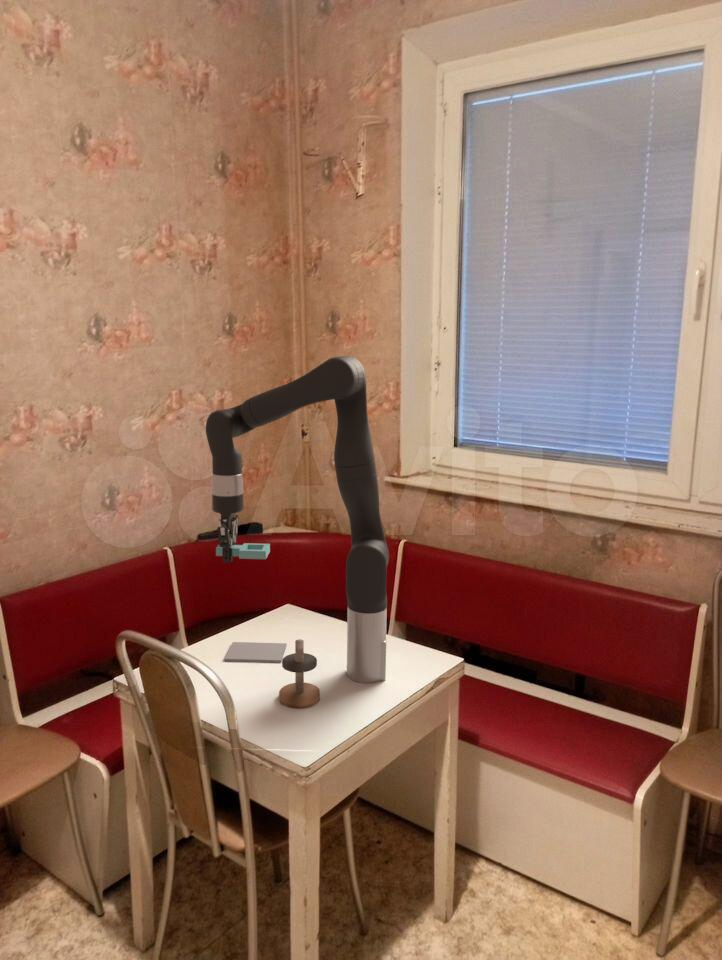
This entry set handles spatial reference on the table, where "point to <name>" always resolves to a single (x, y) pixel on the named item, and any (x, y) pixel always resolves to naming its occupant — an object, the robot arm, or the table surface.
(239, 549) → the teal square frame paddle
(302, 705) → the stand
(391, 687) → the table surface
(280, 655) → the mat
